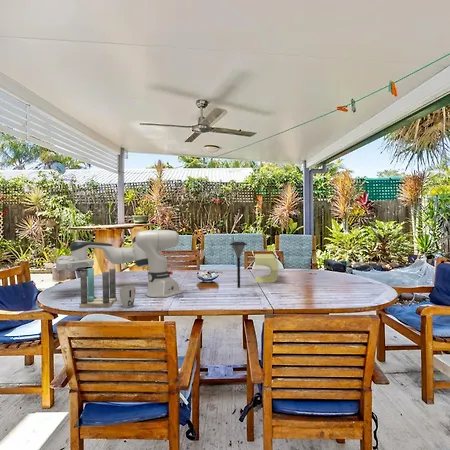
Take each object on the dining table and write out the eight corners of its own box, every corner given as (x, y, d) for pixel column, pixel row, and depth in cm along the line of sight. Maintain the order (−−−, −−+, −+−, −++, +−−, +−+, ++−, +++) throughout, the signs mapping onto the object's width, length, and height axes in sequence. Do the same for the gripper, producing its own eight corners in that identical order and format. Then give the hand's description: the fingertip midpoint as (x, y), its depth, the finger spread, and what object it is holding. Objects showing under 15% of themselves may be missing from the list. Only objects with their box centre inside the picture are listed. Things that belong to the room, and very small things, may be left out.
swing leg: (93, 300, 185) (93, 270, 184) (87, 301, 183) (86, 271, 183) (94, 296, 195) (93, 267, 195) (88, 296, 194) (87, 268, 194)
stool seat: (89, 300, 196) (88, 268, 195) (117, 300, 196) (116, 268, 195) (78, 307, 180) (77, 273, 180) (108, 307, 180) (107, 272, 180)
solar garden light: (245, 289, 221) (244, 242, 220) (227, 288, 225) (226, 242, 224) (250, 286, 232) (249, 241, 232) (232, 285, 236) (232, 241, 236)
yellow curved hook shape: (278, 284, 237) (278, 258, 237) (255, 284, 238) (254, 258, 238) (275, 277, 267) (275, 254, 267) (255, 277, 268) (254, 254, 268)
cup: (129, 308, 177) (129, 289, 177) (116, 307, 180) (116, 288, 180) (138, 305, 184) (138, 286, 184) (126, 303, 187) (126, 285, 187)
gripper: (88, 266, 218) (98, 268, 208) (53, 270, 203) (62, 273, 193) (87, 256, 217) (98, 258, 208) (53, 260, 203) (62, 261, 193)
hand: (80, 265), depth 200 cm, fingers open, 8 cm apart
